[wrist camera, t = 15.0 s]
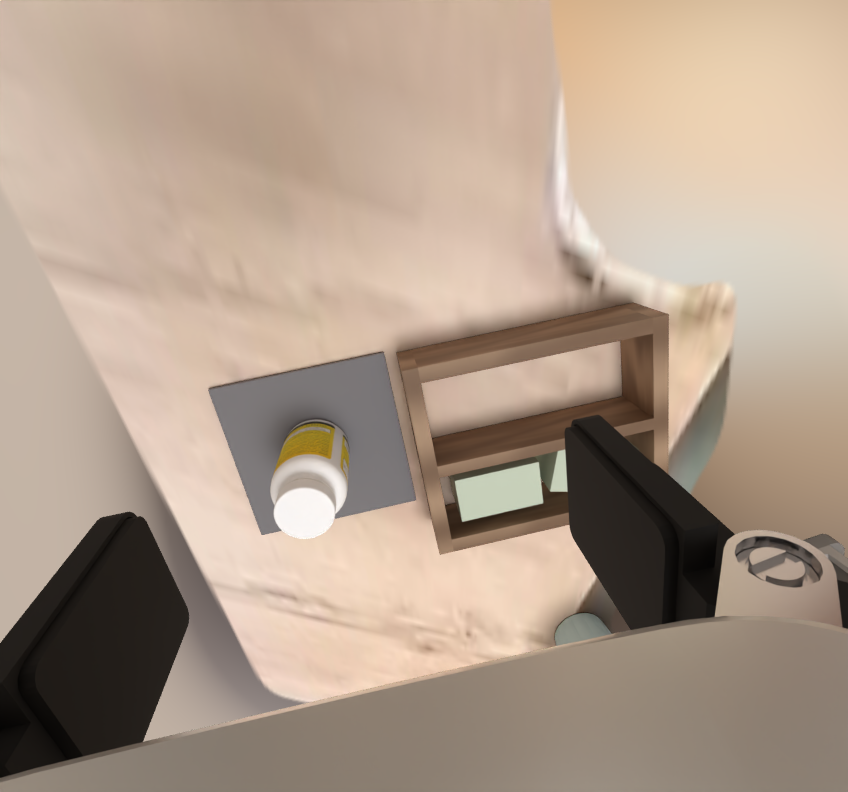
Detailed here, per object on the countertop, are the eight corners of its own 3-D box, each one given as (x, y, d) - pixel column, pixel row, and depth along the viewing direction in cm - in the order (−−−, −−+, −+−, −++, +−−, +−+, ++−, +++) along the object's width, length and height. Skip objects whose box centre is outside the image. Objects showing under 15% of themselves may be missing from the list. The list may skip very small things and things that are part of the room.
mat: (209, 388, 39) (208, 389, 38) (383, 351, 40) (383, 353, 39) (262, 532, 44) (261, 535, 44) (415, 497, 45) (416, 500, 44)
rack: (396, 352, 40) (401, 371, 35) (633, 302, 41) (668, 314, 36) (431, 519, 46) (439, 554, 41) (637, 472, 47) (668, 501, 42)
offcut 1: (445, 455, 44) (454, 481, 40) (521, 438, 44) (538, 462, 40) (452, 493, 45) (462, 521, 41) (526, 476, 45) (543, 503, 41)
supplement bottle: (270, 446, 41) (243, 512, 32) (318, 404, 40) (305, 461, 31) (316, 487, 43) (304, 561, 33) (363, 448, 42) (363, 513, 33)
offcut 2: (539, 425, 44) (558, 448, 40) (612, 427, 45) (639, 449, 41) (532, 465, 45) (550, 491, 41) (603, 466, 46) (628, 492, 42)
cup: (581, 592, 51) (634, 681, 41) (626, 624, 54) (685, 716, 44) (530, 638, 52) (569, 735, 43) (576, 668, 55) (622, 766, 45)
